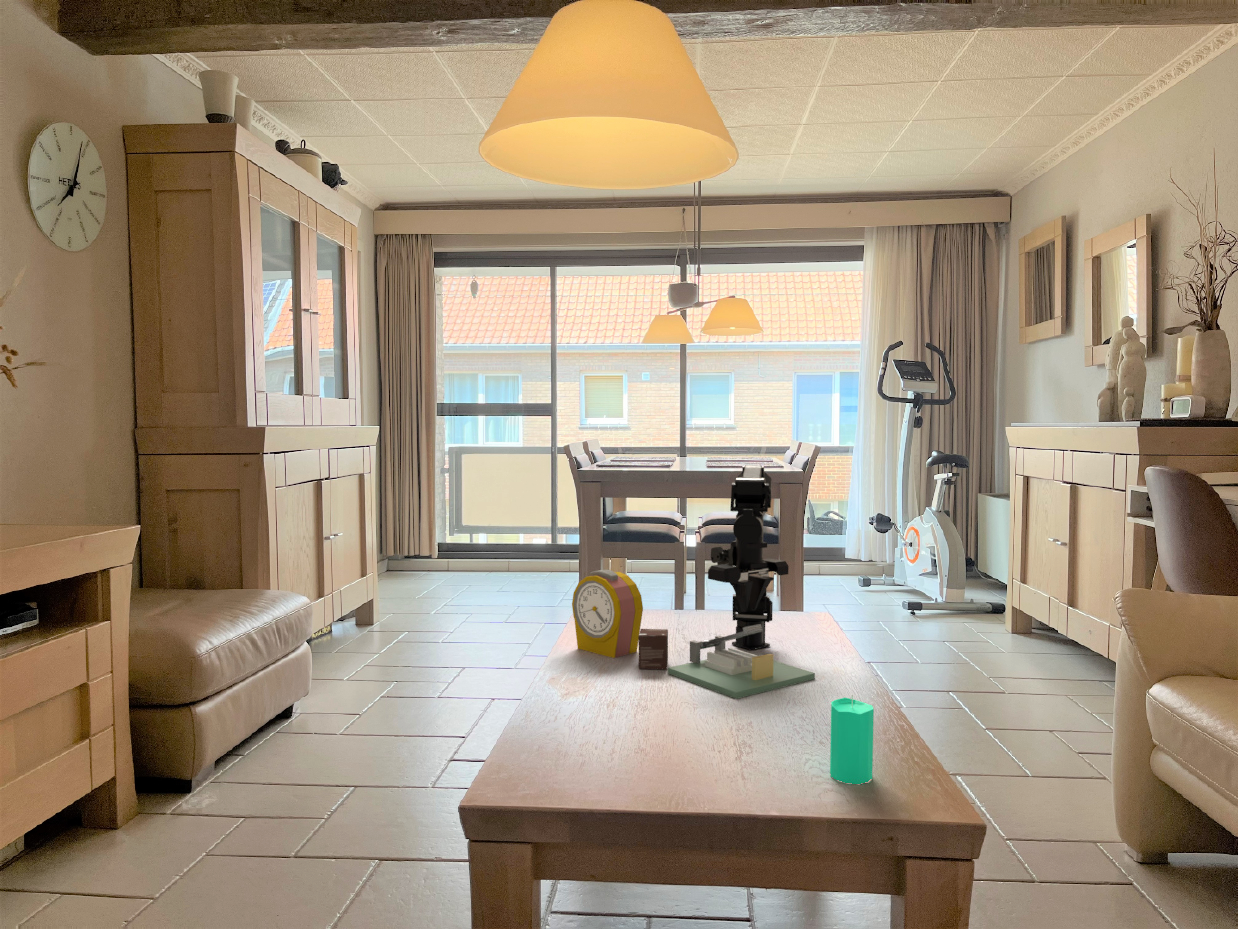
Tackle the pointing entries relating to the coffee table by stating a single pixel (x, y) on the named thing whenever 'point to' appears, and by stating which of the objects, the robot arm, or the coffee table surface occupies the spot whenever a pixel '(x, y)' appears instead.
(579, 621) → the alarm clock
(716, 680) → the board
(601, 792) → the coffee table surface
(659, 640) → the box
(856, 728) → the candle
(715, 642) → the grey hinged lever
